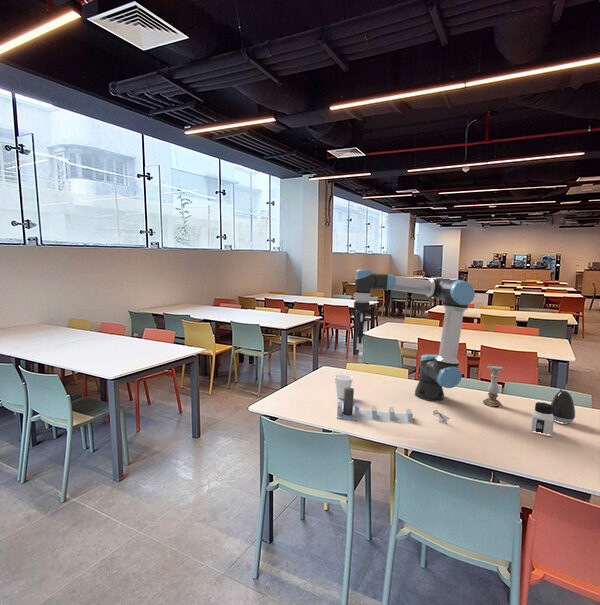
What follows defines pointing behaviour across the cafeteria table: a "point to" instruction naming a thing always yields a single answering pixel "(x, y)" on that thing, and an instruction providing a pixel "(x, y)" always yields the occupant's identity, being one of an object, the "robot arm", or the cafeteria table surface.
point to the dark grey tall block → (348, 401)
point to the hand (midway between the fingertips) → (359, 349)
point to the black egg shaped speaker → (563, 407)
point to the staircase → (441, 416)
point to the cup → (342, 384)
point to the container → (542, 418)
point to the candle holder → (493, 386)
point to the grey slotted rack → (376, 415)
